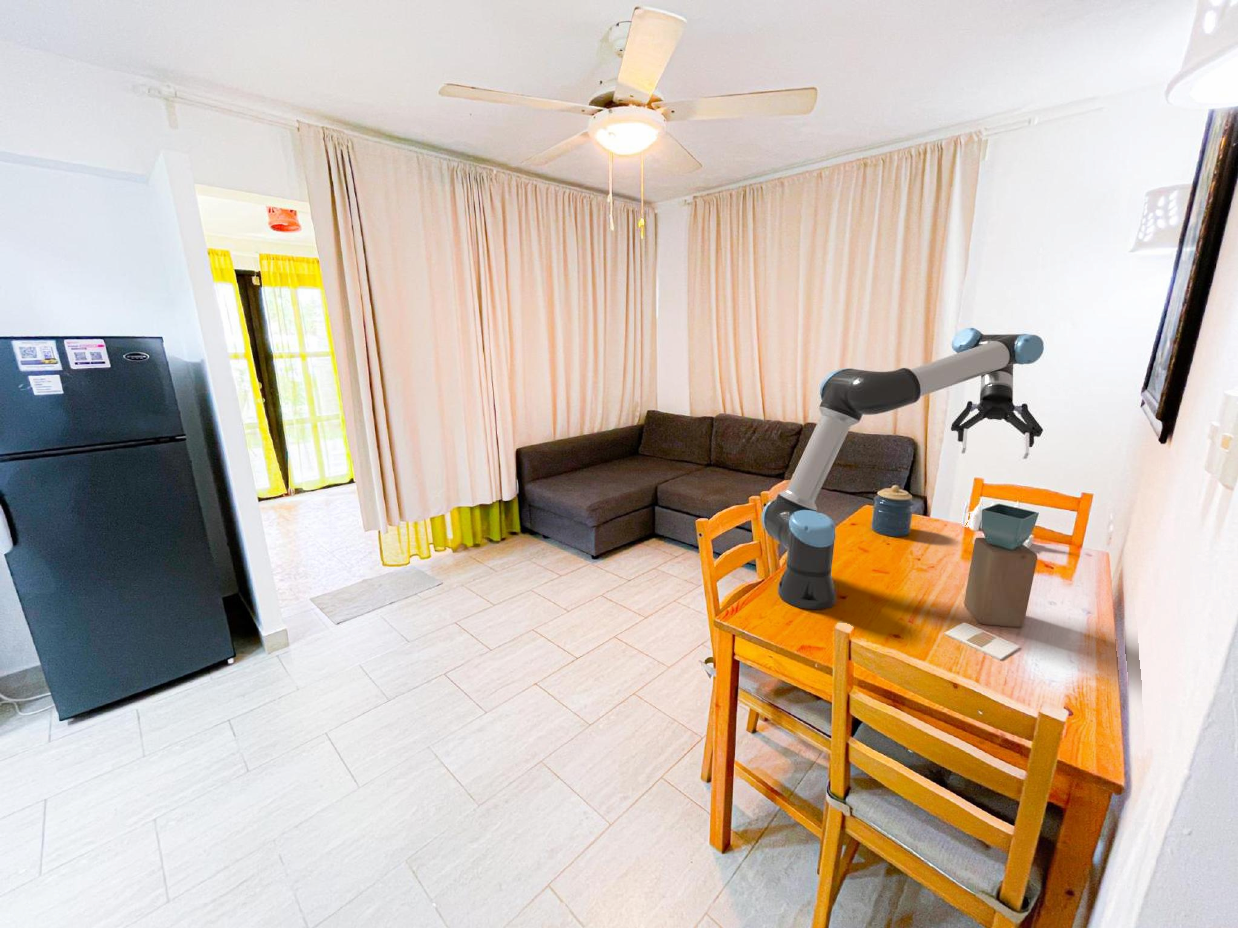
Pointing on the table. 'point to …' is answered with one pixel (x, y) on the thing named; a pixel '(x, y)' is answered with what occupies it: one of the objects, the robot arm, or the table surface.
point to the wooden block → (999, 583)
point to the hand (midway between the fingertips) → (994, 453)
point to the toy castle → (976, 520)
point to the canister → (892, 512)
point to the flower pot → (1007, 525)
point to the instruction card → (982, 640)
